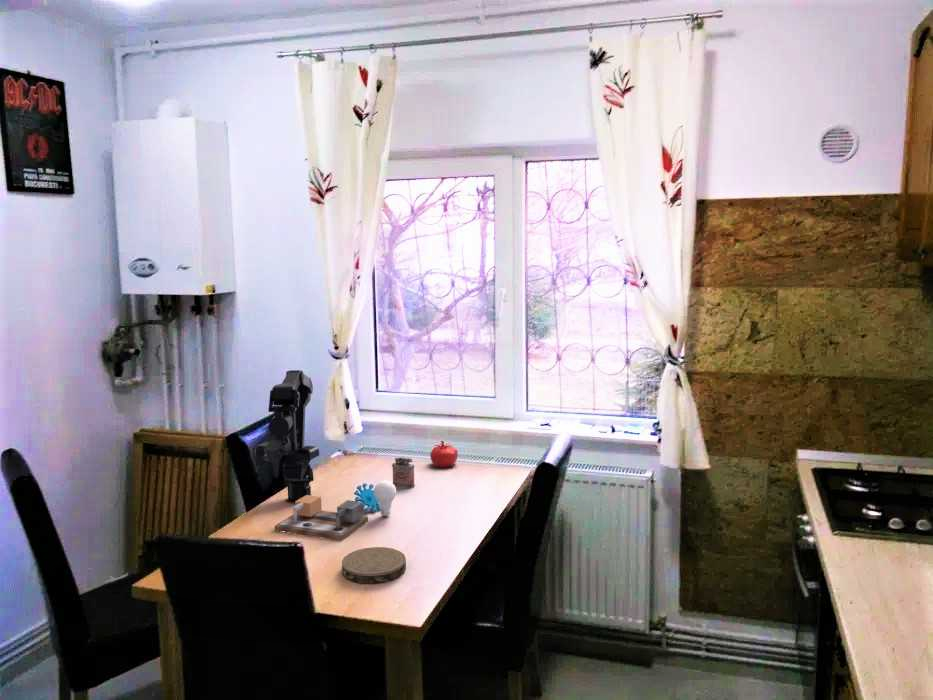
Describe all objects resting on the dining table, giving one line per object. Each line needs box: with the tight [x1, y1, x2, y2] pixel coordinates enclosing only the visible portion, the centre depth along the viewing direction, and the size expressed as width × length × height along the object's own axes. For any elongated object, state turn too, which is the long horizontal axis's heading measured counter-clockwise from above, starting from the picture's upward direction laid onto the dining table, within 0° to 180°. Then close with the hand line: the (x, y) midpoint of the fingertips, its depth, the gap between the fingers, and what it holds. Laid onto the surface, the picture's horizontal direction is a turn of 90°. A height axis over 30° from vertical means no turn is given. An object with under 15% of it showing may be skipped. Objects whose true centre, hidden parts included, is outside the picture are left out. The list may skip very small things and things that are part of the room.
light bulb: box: [373, 479, 397, 517], centre depth 223 cm, size 7×7×11 cm
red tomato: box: [429, 440, 459, 468], centre depth 273 cm, size 10×10×9 cm
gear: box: [353, 482, 381, 514], centre depth 231 cm, size 11×6×10 cm
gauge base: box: [274, 499, 369, 542], centre depth 216 cm, size 22×15×7 cm
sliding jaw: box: [292, 494, 323, 523], centre depth 218 cm, size 5×10×4 cm, turn 159°
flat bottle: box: [391, 456, 416, 489], centre depth 250 cm, size 8×3×10 cm, turn 68°
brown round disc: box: [341, 546, 407, 586], centre depth 187 cm, size 16×16×3 cm
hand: (288, 478), depth 222 cm, fingers open, 8 cm apart
